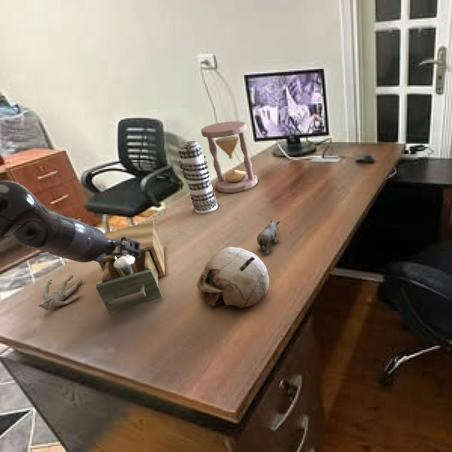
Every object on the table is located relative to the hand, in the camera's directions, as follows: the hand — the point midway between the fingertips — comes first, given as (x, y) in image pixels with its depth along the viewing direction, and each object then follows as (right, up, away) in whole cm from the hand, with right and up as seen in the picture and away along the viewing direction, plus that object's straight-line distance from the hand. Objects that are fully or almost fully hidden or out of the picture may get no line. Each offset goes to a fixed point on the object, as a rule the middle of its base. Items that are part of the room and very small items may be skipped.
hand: (120, 256), depth 84 cm
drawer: (+2, -10, +4) cm, 11 cm away
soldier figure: (-18, -12, +6) cm, 22 cm away
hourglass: (+10, +25, +67) cm, 72 cm away
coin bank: (+27, -10, +2) cm, 29 cm away
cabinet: (-4, -5, +16) cm, 17 cm away
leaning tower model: (+3, +14, +48) cm, 50 cm away
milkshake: (+1, -9, +4) cm, 10 cm away
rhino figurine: (+32, +2, +22) cm, 39 cm away
